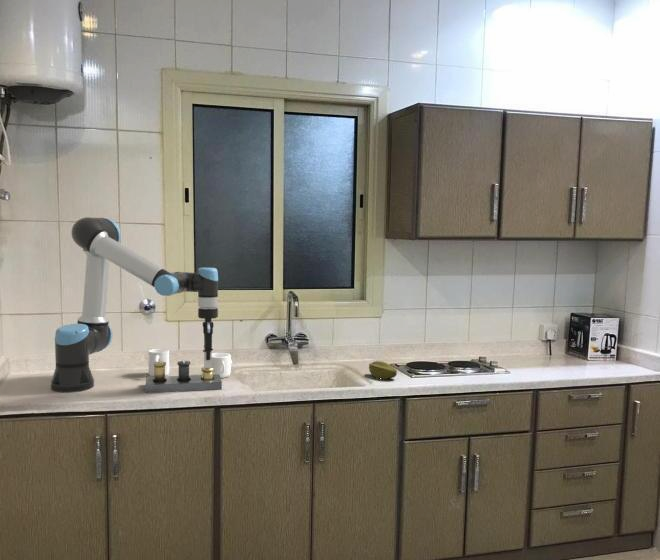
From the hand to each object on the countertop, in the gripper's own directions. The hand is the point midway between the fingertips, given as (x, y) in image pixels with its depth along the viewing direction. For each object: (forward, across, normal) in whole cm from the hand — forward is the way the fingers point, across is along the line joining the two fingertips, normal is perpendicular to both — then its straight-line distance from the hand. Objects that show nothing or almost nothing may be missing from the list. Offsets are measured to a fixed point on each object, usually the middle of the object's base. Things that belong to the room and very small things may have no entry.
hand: (207, 367), depth 233 cm
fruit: (+8, +2, -73) cm, 74 cm away
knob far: (+7, 0, 0) cm, 7 cm away
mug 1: (+8, +20, +19) cm, 29 cm away
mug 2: (+8, +14, -6) cm, 17 cm away
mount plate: (+7, 0, +9) cm, 12 cm away
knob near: (+4, 0, +18) cm, 19 cm away
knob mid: (+4, 0, +9) cm, 10 cm away
